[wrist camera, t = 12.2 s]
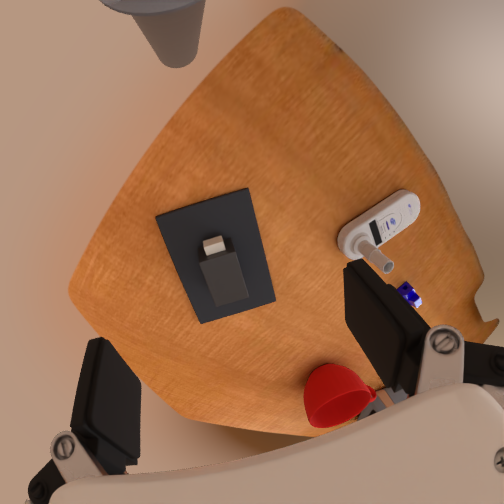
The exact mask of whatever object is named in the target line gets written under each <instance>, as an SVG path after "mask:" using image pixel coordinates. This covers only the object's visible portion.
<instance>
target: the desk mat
mask: <svg viewBox="0 0 504 504" xmlns="http://www.w3.org/2000/svg"><path fill="white" fill-rule="evenodd" d="M156 221H157V223H158V226H159V229H160V231H161V234H162V236H163V239H164V241H165V244H166V246H167V249H168V251H169V253H170V256H171V258H172V261H173V263H174V265H175V268H176V270H177V272H178V275H179V277H180V279H181V282H182V284H183V286H184V289H185V291H186V293H187V295H188V297H189V300H190V302H191V304H192V306H193V309H194V311H195V313H196V315H197V317H198V319H199V321H200V324H203V323H206V322H210V321H213V320H216V319H220V318H223V317H227V316H230V315H233V314H237V313H240V312H243V311H246V310H250V309H253V308H256V307H259V306H262V305H265V304H269V303H272V302H275V301H276V298H275V294H274V290H273V286H272V282H271V277H270V273H269V269H268V265H267V261H266V257H265V253H264V249H263V245H262V241H261V237H260V233H259V229H258V225H257V221H256V217H255V213H254V209H253V205H252V201H251V197H250V193H249V189H248V188H245V189H241V190H238V191H234V192H231V193H228V194H224V195H221V196H218V197H214V198H211V199H208V200H205V201H202V202H198V203H195V204H192V205H189V206H186V207H183V208H180V209H177V210H174V211H170V212H167V213H165V214H162V215H159V216H156ZM218 236H222V239H223V240H225V239H228V238H231V240H232V243H233V246H234V249H235V252H236V255H237V258H238V262H239V265H240V268H241V272H242V275H243V278H244V281H245V285H246V288H247V291H248V295H249V297H247V298H244V299H241V300H237V301H234V302H231V303H228V304H224V305H221V306H218V307H216V305H215V303H214V300H213V298H212V295H211V293H210V290H209V288H208V285H207V283H206V280H205V277H204V275H203V272H202V270H201V267H200V264H199V257H198V248H199V247H202V246H204V245H203V241H205V240H208V239H211V238H214V237H218Z"/></svg>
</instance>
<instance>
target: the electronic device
mask: <svg viewBox="0 0 504 504" xmlns="http://www.w3.org/2000/svg"><path fill="white" fill-rule="evenodd" d="M419 212H420V202H419V199H418V197H417V195H416V194H414V193H412V192H410V191H407V190H404V189H403V190H398V191H397V192H395V193H394V194H392V195H391V196H389V197H388V198H386V199H385V200H383V201H382V202H380V203H379V204H377V205H376V206H374V207H372V208H371V209H369V210H368V211H366V212H365V213H363V214H362V215H360V216H359V217H357V218H356V219H354V220H353V221H351V222H350V223H348V224H347V225H345V226H344V227H343V228H342V229H341V231H340V233H339V236H338V239H337V241H338V247H339V249H340V251H342V252H343V253H344V254H345V255H346V256H347V257H348V258H349V259H353V260H356V259H360V258H363V257H365V258H366V259H368V260H369V261H370V262H371V263H373V264H375V265H376V266H377V267H378V268H379V269H380V270H381V271H382V272H383V273H385V274H387V273H389V272H391V271H392V269H393V267H394V263H393V262H392V261H391V260H390V259H388V258H387V257H386V256H385V255H384V254H382V253H381V251H380V250H379V249H378V247H379V246H381V245H382V244H383V243H385V242H386V241H388V240H389V239H391V238H392V237H393V236H395V235H396V234H398V233H399V232H400V231H402V230H403V229H405V228H406V227H407V226H409V225H410V224H411V223H413V222H414V221H415V220H416V218H417V217H418V214H419Z"/></svg>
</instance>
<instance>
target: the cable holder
mask: <svg viewBox="0 0 504 504" xmlns="http://www.w3.org/2000/svg"><path fill="white" fill-rule="evenodd" d="M397 291H398V292H399V293H400V294H401V295H402V296H403V297H404V298H405V299H406V301H407V302H408V303H409V304H410V305H411V306H414V307H416V308H417V307H419V306H420V305H421V304H422V301H421V298H420V297H419V296H418V295H417V294H416V293H415V290H414V288H413V287H412V286H411V285H410V284H409V283H408V282H405V283H404V284H403V285H402V286H400V287H399V288H398V289H397Z"/></svg>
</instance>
